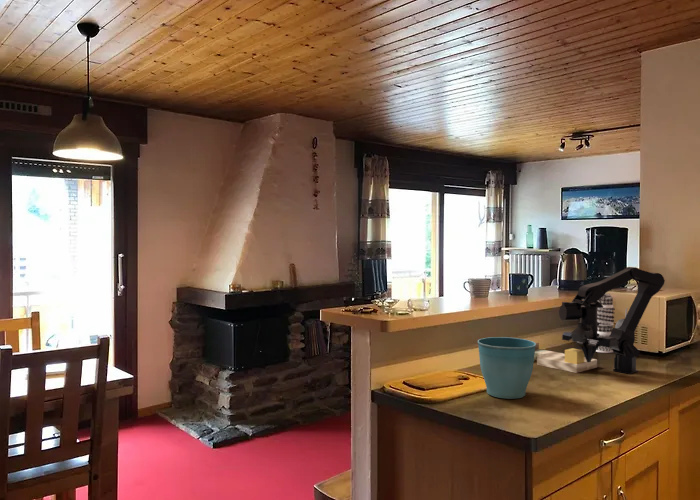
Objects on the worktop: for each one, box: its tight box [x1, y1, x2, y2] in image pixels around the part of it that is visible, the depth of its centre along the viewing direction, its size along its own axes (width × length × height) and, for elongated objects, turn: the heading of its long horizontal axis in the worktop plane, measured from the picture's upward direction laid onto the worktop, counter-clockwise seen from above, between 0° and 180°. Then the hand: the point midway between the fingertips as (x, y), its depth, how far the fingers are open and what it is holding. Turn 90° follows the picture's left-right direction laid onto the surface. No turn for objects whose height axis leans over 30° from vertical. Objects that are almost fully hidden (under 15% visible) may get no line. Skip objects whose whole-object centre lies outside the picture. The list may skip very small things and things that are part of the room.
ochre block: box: [564, 347, 585, 364], centre depth 212 cm, size 5×5×4 cm
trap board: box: [534, 342, 598, 374], centre depth 223 cm, size 27×14×6 cm, turn 36°
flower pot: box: [477, 336, 537, 400], centre depth 180 cm, size 18×18×17 cm
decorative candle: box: [595, 293, 615, 354], centre depth 246 cm, size 9×9×25 cm
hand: (588, 361), depth 207 cm, fingers closed
